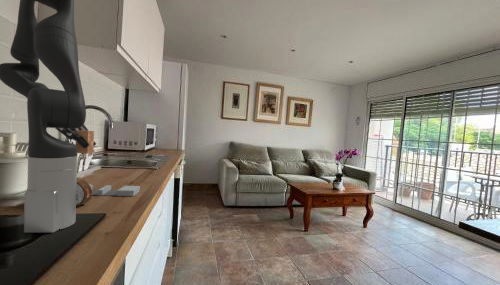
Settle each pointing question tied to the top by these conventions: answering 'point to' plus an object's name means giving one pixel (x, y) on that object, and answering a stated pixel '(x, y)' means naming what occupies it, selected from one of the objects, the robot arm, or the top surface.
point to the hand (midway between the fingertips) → (90, 146)
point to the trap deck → (116, 191)
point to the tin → (82, 192)
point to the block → (89, 138)
